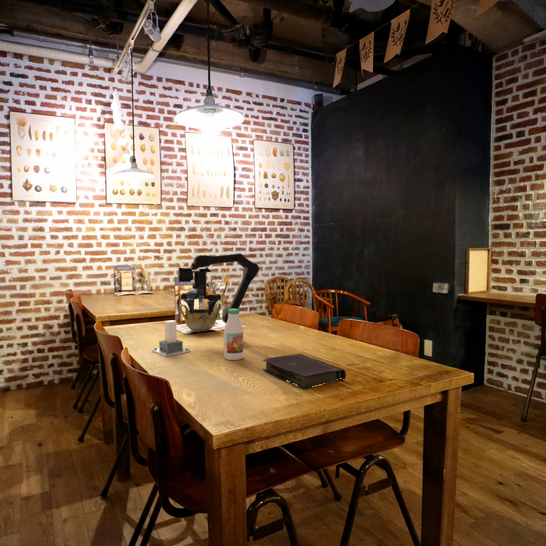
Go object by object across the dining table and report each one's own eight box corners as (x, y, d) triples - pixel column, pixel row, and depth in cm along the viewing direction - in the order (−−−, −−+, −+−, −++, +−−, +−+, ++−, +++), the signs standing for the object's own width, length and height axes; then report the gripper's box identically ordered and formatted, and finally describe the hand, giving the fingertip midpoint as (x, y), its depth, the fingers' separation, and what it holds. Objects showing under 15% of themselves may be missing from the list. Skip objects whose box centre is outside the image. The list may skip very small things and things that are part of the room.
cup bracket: (176, 346, 193) (176, 337, 193) (190, 351, 184) (190, 341, 184) (151, 351, 185) (151, 341, 185) (165, 356, 176) (165, 345, 176)
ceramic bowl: (183, 336, 216) (183, 306, 215) (175, 330, 231) (175, 302, 230) (225, 332, 226) (225, 303, 225) (215, 326, 241) (215, 300, 240)
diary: (301, 365, 166) (301, 352, 166) (345, 382, 145) (346, 367, 145) (260, 372, 156) (260, 358, 156) (301, 391, 135) (302, 376, 135)
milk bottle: (220, 359, 172) (220, 309, 171) (231, 354, 179) (230, 307, 178) (236, 361, 169) (236, 311, 167) (246, 357, 175) (246, 308, 174)
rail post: (172, 348, 187) (172, 320, 186) (176, 349, 184) (176, 321, 183) (165, 349, 184) (164, 321, 184) (169, 351, 182) (168, 322, 181)
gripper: (173, 282, 196) (174, 316, 197) (209, 283, 189) (209, 318, 190) (186, 280, 206) (187, 312, 207) (221, 282, 200) (221, 315, 201)
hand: (200, 314), depth 201 cm, fingers open, 9 cm apart
